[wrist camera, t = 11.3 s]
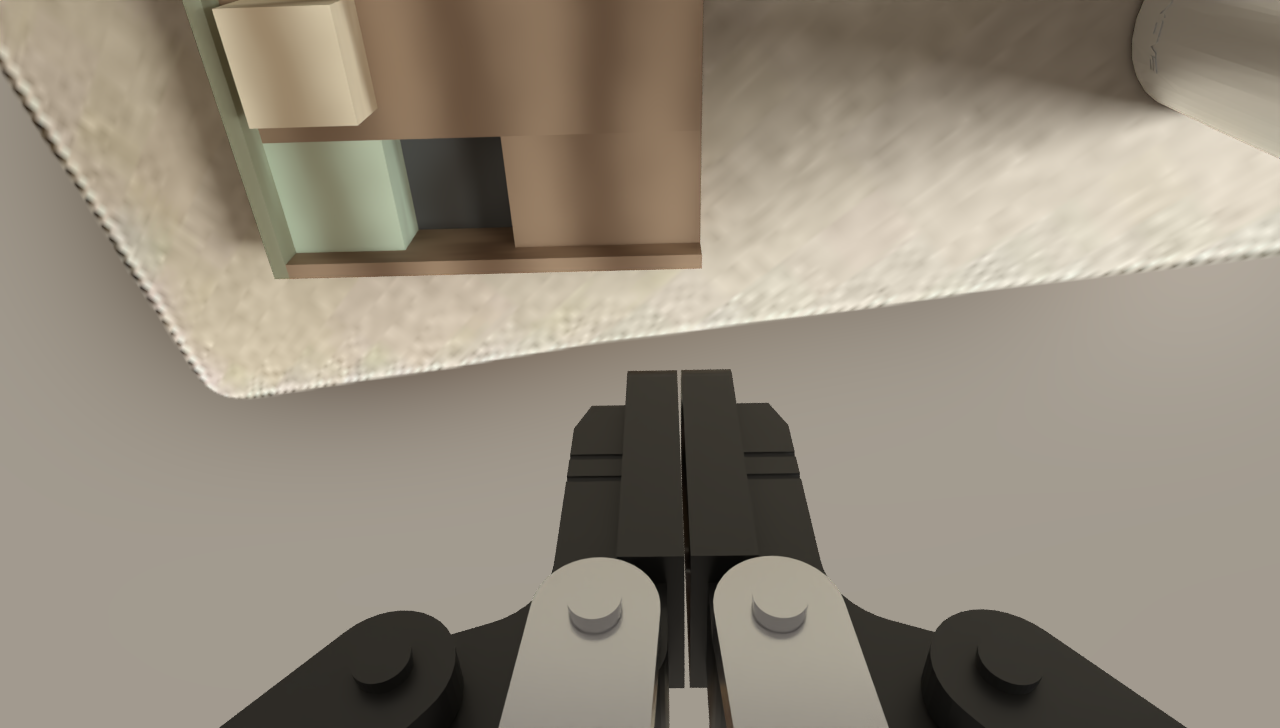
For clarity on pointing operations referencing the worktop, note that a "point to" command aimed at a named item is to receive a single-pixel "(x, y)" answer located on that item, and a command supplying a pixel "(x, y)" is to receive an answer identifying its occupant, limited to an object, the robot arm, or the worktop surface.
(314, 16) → the maple block
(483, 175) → the trap box
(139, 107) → the worktop surface
